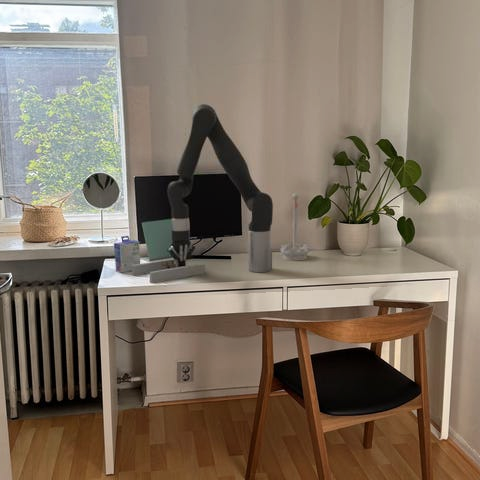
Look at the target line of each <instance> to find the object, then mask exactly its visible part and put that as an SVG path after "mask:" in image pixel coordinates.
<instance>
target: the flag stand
mask: <svg viewBox="0 0 480 480" xmlns="http://www.w3.org/2000/svg"><path fill="white" fill-rule="evenodd" d="M299 197H300V195H299V194H298V193H293V194H292V200H293V226H292V227H293V229H292V231H293V234H292V235H293V238H292V239H293V241H292V242H293V245H292V246H291V243H287V244H285V243H284V245H280V252H281V254H282V259H284V260H286V261H304V260H306V259H307V257H308V256H307V255H308V254H309V252H310V247H309V245H307V244H303V245H302V246H301V244H300V243H297V238H298V237H297V236H298V235H297V232H298V231H297V228H298V224H297V223H298V199H299Z"/></svg>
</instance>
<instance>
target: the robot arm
mask: <svg viewBox="0 0 480 480" xmlns="http://www.w3.org/2000/svg"><path fill="white" fill-rule="evenodd" d="M191 119H192V123H191V128H190V129H191V130H190V133H189V138H188V141H187V143H186V146H185V148H184V149H183V152H182V155H181V157H180V161H179V163H178V166H177V169H176V173H177V175H178V176H179V179H178V180H176V181H174V180H173V181H172V182H169V184H168V186H167V191H166V192H167V197H168V202H169V205H170V208H171V219H172V223H171V225H172V227H171V228H172V241H173V242H172V247H171V248H170V249H167V251H168V252H169V254H170V255H171V256H172V257H173V258H172V259H175V260H178V267H183V266H187V265H186V262H187V261H186V260H187V259H190V257H191V256H192V254H193V252H194V251H195V249H196V245H193V244H192V242H191V232H190V230H191V229H190V226H191V225H190V218H189V216H190V215H189V214H190V213H189V205H188V204H187V203H185V202H184V199H183V198H186V197H187V196H189V195H190V194H191V192H192V190H193V184H194V175H195V172H196V169H197V167H198V163H199V160H200V157H201V153H202V149H203V147H204V145H205V142H206V140H207V138H208V140H209V141H210V144H211V146H212V148H213V151H214V153H215V156H216V158H217V160H218V162H219V164H220V165H221V168H223V170H224V171H225V173H226V175H228V177H229V179H230V181H232V183H233V185H235V187H236V189H237V190H238V192H239V194H240V196H241V198H242V200H243V202H244V204H245V207H247V209H248V210H249V211H250V212H251V221H250V222H249V224H248V271H249V272H253V273H266V272H269V271H271V270H273V247H272V246H271V229H272V228H271V226H272V224H273V215H274V214H273V213H274V211H273V210H274V207H273V206H274V205H273V199H272V197H271V196H270V195H269V194H267V193H266V192H262V191H261V190H260V189H259V188H258V186H257V185H256V183H255V182H254V180H253V178H252V177H251V173H250V170H249V167H248V163H247V162H246V160H245V158H244V156H243V154H242V153H241V152H240V151H239V150H240V149H238V147H237V145H236V144H235V143H234V142H233V139H231V138H230V136H229V134H228V133H227V132H226V131H225V129H224V127H223V125H222V123H221V121H220V120H219V117H218V115H217V113H216V110H215V109H214V108H213V107H212V106H211V105H208V104H204V103H203V104H202V103H201V104H199V105H198V106H196V108H195V109H194V111H193V114H192V118H191ZM174 250H175V251H176V254H175V253H174Z"/></svg>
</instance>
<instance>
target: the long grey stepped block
mask: <svg viewBox="0 0 480 480" xmlns="http://www.w3.org/2000/svg"><path fill="white" fill-rule="evenodd" d="M172 260H174V261H175V262H176V263H177V268H171V269H168V268H167V267H165V266H164V265H162V263H163V264H165V265H166V263H168V266H169V265H170V263H171V265H172ZM205 271H206V264H205V263H196V264H190V265H186V266H183V267H178V260H175V259H174V258H169V259H162V260H156V261H148V262H142V263H140V264H136V265H132V270H131V276H132V275H133V276H137V275H143V274H149V282H150V283H151V284H153V283H159V282H164V281H169V280H175V279H179V278H180V279H181V278H185V277H190V276H191V277H192V276H197V275H203V274H206V272H205Z"/></svg>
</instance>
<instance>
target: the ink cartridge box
mask: <svg viewBox="0 0 480 480" xmlns="http://www.w3.org/2000/svg"><path fill="white" fill-rule="evenodd" d="M120 238H121V241H118V242H114V243H113V248H114V260H115V261H114V262H115V271H116V272H118V271H119V273H127V272H132V265H136V264H141V251H140V249H141V247H140V240H136V239H130V237H129V235H124V236H120ZM125 238H126V239H125Z"/></svg>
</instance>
